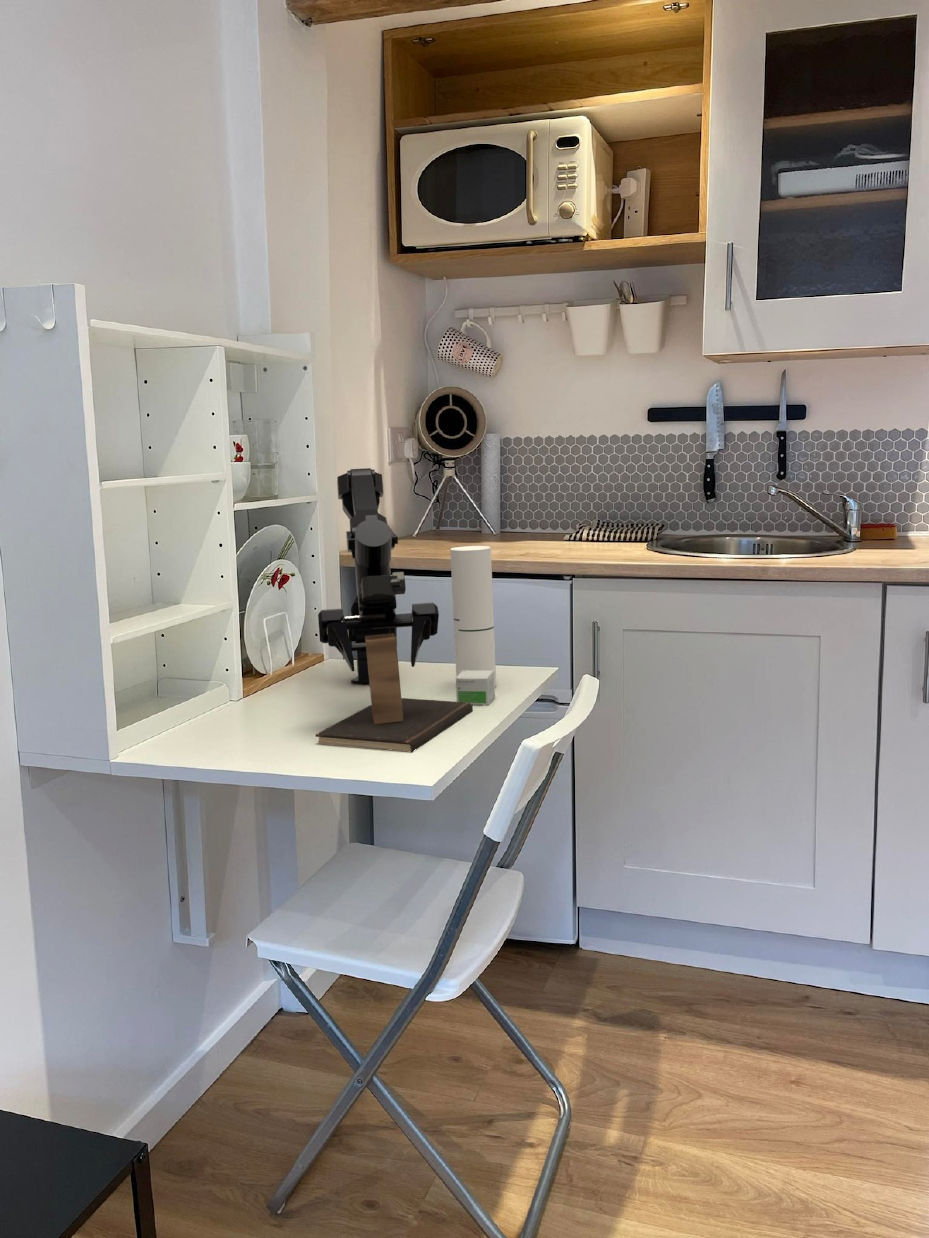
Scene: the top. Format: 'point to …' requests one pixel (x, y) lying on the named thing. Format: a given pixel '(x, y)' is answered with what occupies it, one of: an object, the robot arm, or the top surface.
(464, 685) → the small box
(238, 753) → the top surface
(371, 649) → the walnut block
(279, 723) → the top surface
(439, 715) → the hardcover book
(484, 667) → the cylindrical container
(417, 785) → the top surface
